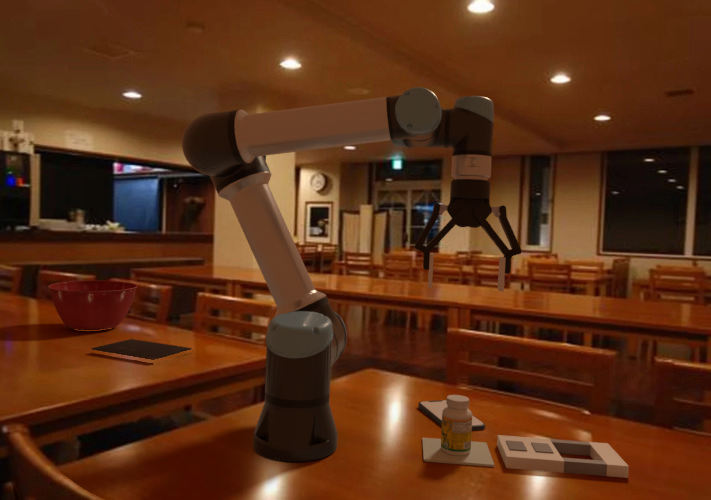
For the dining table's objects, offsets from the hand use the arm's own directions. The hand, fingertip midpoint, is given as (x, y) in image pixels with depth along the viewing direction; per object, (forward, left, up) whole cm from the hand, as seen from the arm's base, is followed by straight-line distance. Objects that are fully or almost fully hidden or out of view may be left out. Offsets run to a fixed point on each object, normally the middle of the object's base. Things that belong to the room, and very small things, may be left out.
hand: (465, 289), depth 110 cm
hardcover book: (-87, +46, -29) cm, 103 cm away
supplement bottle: (-1, -9, -28) cm, 30 cm away
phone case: (-1, +10, -29) cm, 31 cm away
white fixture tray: (+17, -9, -29) cm, 35 cm away
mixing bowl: (-120, +76, -29) cm, 145 cm away
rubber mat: (-1, -9, -29) cm, 30 cm away
